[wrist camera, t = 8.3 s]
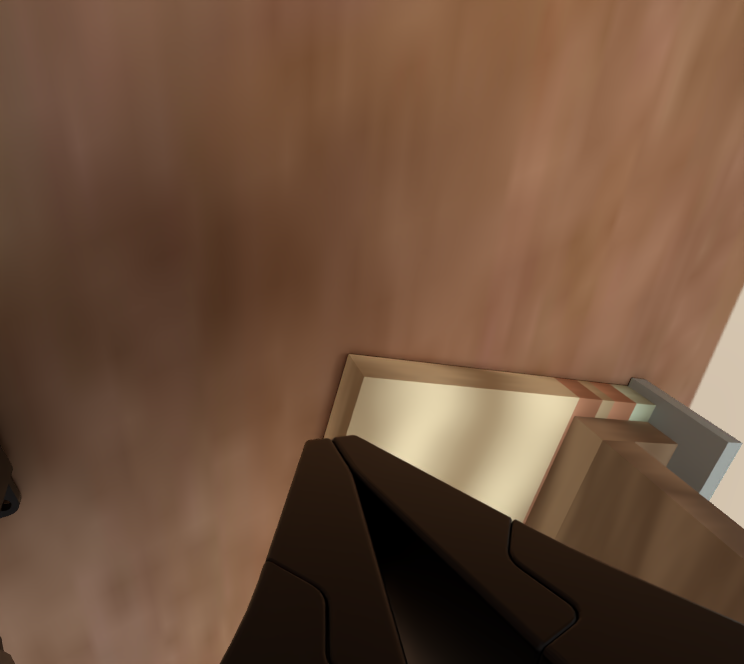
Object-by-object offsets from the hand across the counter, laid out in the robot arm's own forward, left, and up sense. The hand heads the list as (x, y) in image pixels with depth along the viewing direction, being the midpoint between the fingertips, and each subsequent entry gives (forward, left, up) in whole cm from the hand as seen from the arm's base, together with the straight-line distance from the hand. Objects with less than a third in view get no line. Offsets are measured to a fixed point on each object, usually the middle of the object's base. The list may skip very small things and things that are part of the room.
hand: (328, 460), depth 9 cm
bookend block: (+14, -17, -11) cm, 25 cm away
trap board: (+9, -15, -13) cm, 21 cm away
